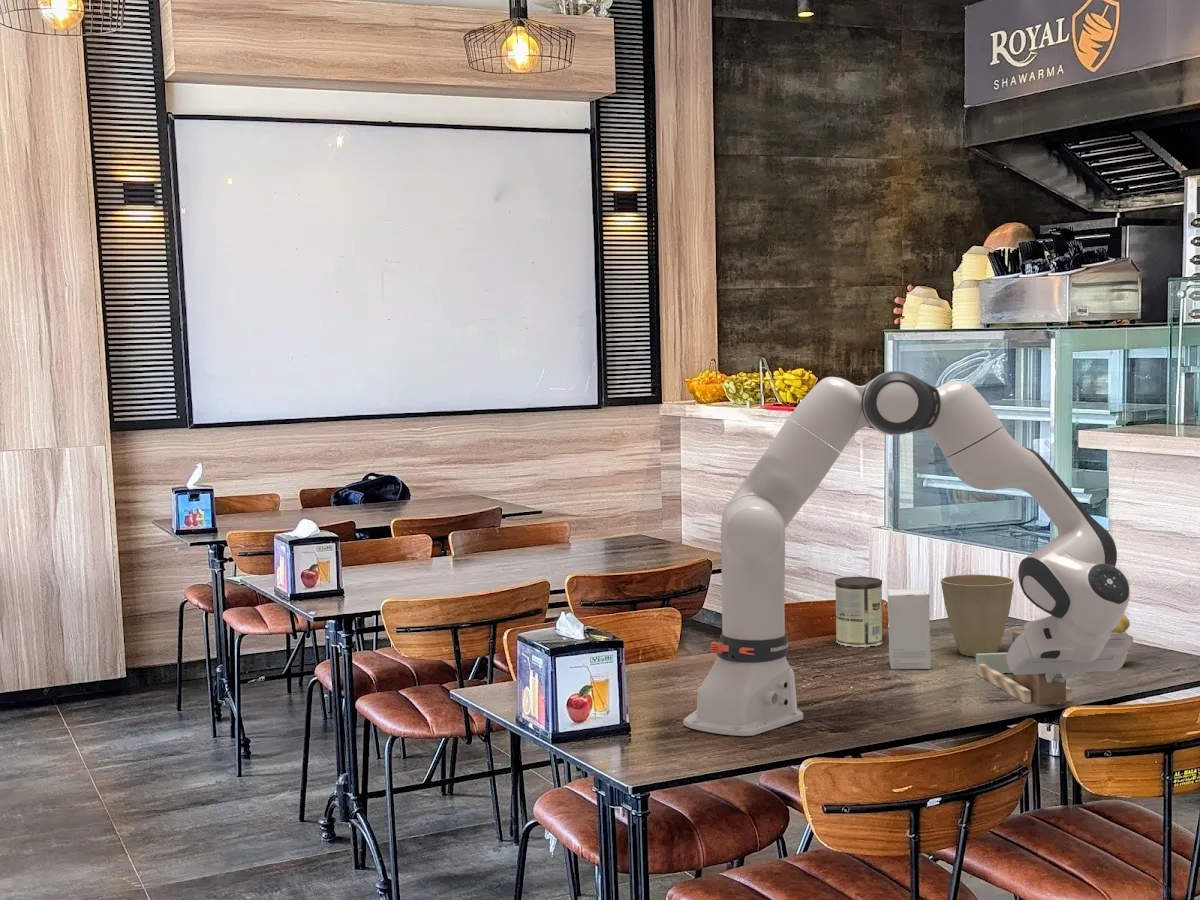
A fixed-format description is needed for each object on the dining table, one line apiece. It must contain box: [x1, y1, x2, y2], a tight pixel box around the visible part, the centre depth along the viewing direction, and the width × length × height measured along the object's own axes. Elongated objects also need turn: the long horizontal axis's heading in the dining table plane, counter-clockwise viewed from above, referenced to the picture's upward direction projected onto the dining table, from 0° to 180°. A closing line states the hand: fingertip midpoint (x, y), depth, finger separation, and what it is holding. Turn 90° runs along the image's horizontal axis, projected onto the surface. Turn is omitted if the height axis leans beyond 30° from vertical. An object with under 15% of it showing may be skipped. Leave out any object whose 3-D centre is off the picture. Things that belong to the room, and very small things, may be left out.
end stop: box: [975, 651, 1012, 675], centre depth 258 cm, size 1×9×4 cm, turn 95°
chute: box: [978, 664, 1073, 704], centre depth 246 cm, size 22×9×2 cm, turn 5°
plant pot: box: [940, 574, 1015, 658], centre depth 275 cm, size 15×15×16 cm
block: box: [1012, 630, 1067, 706], centre depth 239 cm, size 12×5×11 cm, turn 5°
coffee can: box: [834, 576, 884, 648], centre depth 288 cm, size 10×10×14 cm
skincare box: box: [887, 588, 932, 670], centre depth 265 cm, size 8×7×16 cm
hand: (1053, 679), depth 233 cm, fingers closed, pressing on block
